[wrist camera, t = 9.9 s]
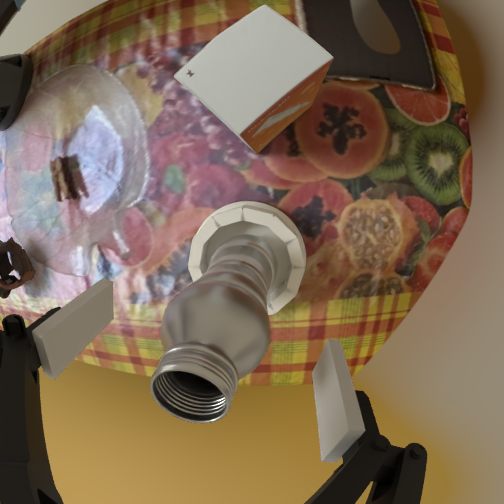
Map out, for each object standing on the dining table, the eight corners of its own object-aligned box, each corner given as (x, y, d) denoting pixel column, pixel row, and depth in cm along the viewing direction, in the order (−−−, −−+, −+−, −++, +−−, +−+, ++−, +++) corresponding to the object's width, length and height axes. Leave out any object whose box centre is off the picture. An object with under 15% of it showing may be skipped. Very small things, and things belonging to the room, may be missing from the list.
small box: (257, 155, 27) (238, 138, 14) (216, 115, 26) (169, 75, 14) (313, 106, 25) (337, 56, 12) (271, 67, 24) (263, 1, 12)
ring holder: (205, 189, 28) (196, 191, 25) (319, 217, 28) (323, 222, 25) (187, 292, 32) (178, 304, 29) (287, 318, 32) (288, 333, 28)
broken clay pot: (9, 224, 34) (-10, 232, 27) (47, 243, 38) (33, 254, 31) (-2, 281, 34) (-19, 297, 27) (34, 300, 39) (21, 319, 32)
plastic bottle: (288, 271, 29) (293, 424, 10) (234, 296, 31) (176, 445, 11) (260, 218, 28) (212, 311, 9) (205, 247, 29) (95, 359, 10)
